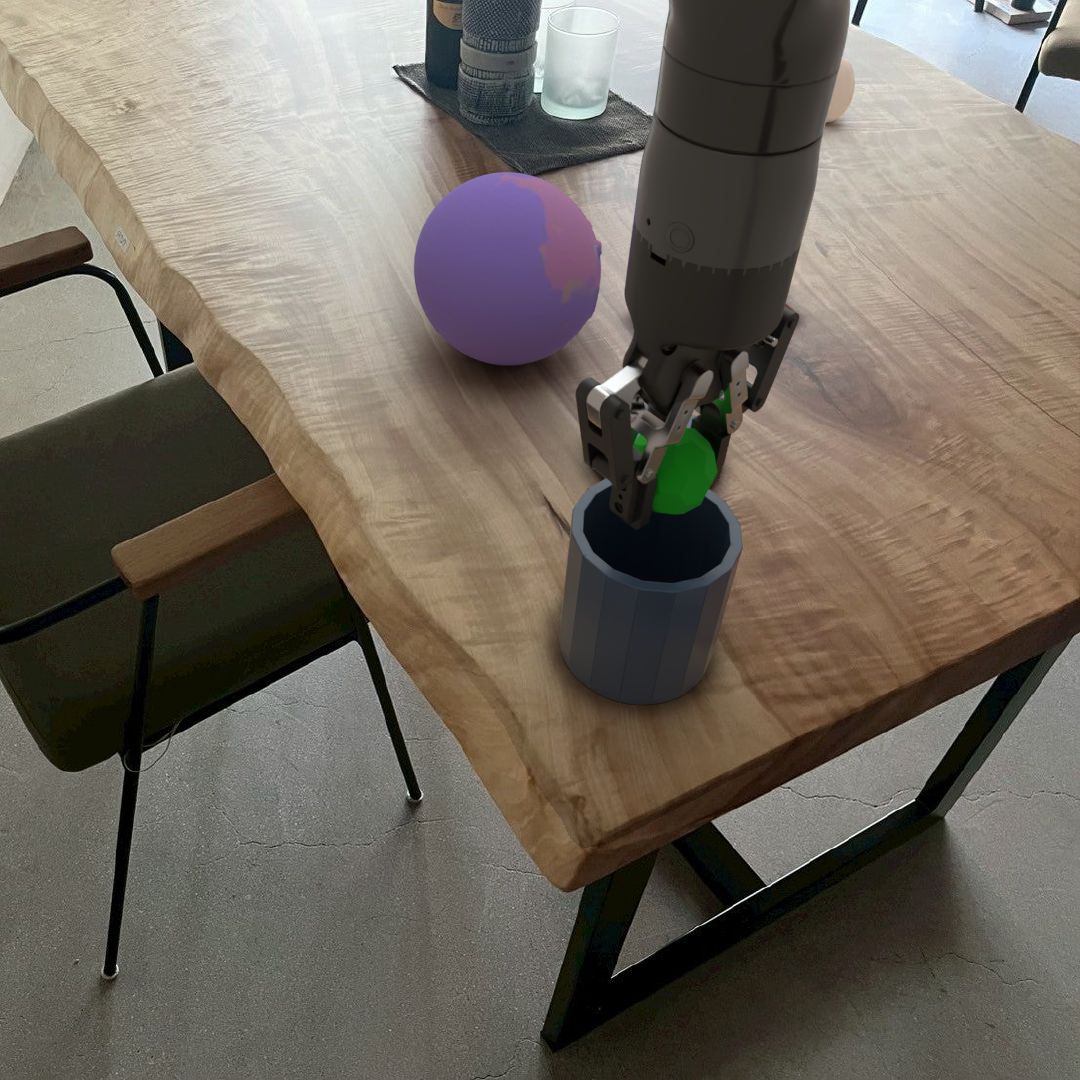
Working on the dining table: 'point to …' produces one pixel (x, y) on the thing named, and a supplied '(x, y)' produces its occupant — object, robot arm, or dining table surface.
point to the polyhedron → (683, 473)
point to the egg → (842, 91)
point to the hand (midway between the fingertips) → (665, 496)
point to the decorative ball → (507, 268)
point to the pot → (646, 596)
